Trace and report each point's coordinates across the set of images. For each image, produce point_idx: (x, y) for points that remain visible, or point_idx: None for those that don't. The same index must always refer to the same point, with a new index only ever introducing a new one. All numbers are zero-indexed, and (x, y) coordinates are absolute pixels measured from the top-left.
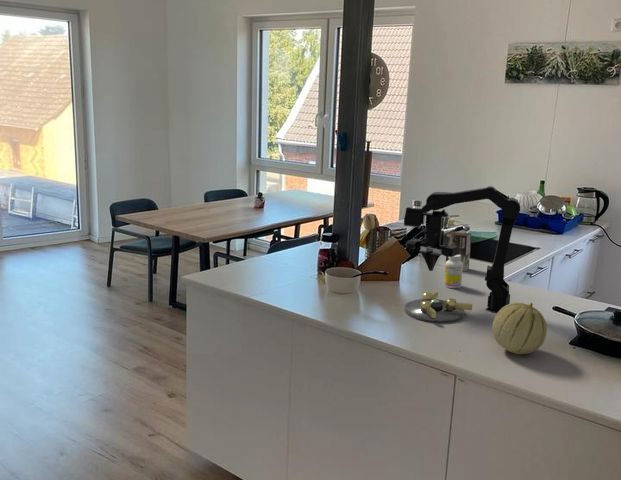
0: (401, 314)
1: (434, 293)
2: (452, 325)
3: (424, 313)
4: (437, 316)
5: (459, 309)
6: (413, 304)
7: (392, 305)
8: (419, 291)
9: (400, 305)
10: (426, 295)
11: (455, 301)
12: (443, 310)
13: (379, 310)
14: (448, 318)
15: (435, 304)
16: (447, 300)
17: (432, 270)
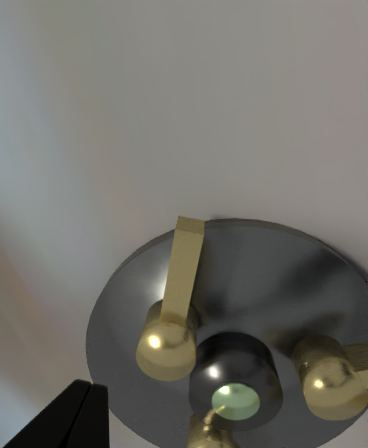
0: (115, 418)
1: (190, 277)
2: (336, 441)
3: None
4: (272, 444)
5: (362, 329)
6: (121, 359)
7: (29, 346)
8: (10, 25)
9: (57, 332)
10: (170, 378)
11: (364, 404)
12: (281, 374)
13: (22, 414)
14: (322, 443)
15: (249, 428)
16: (315, 414)
17: (107, 387)
